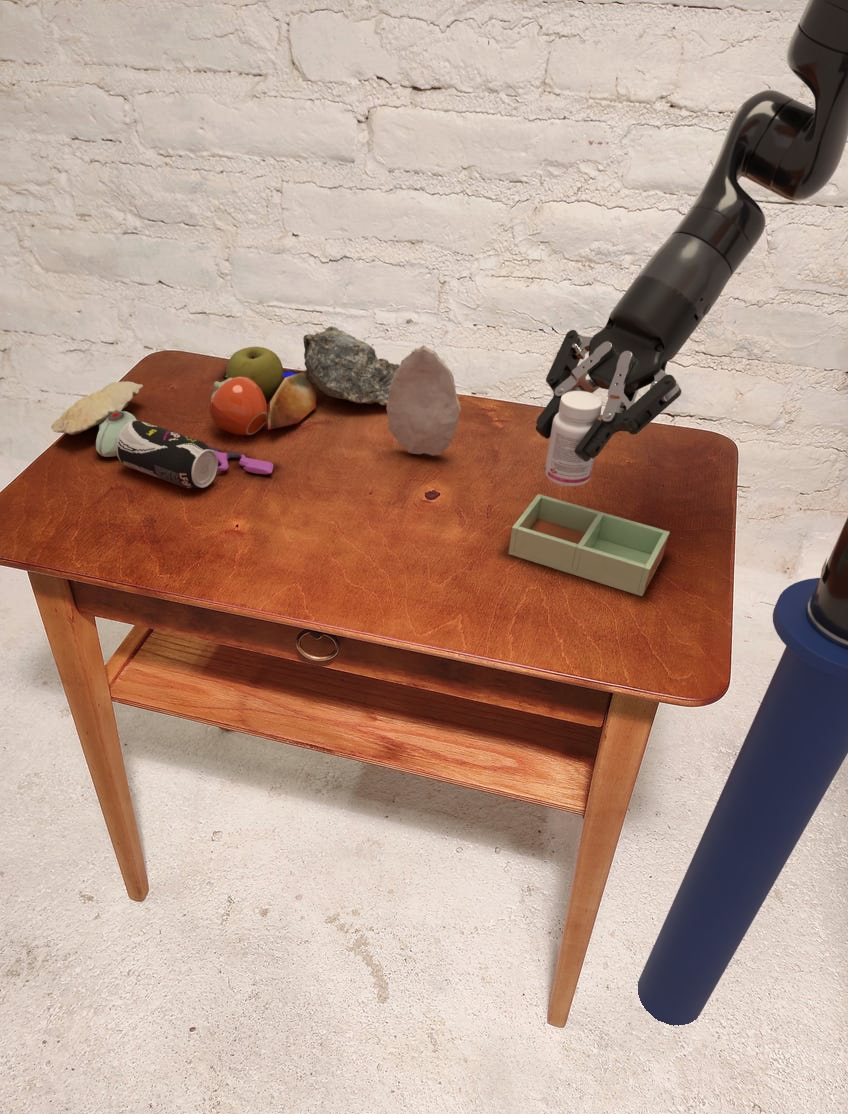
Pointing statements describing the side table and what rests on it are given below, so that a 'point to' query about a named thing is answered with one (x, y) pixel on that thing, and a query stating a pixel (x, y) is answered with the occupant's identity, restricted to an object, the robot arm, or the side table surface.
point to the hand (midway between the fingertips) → (561, 444)
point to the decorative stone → (291, 401)
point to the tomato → (238, 406)
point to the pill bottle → (571, 438)
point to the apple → (257, 368)
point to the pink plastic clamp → (243, 462)
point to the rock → (347, 367)
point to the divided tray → (589, 544)
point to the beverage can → (166, 455)
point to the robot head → (111, 432)
